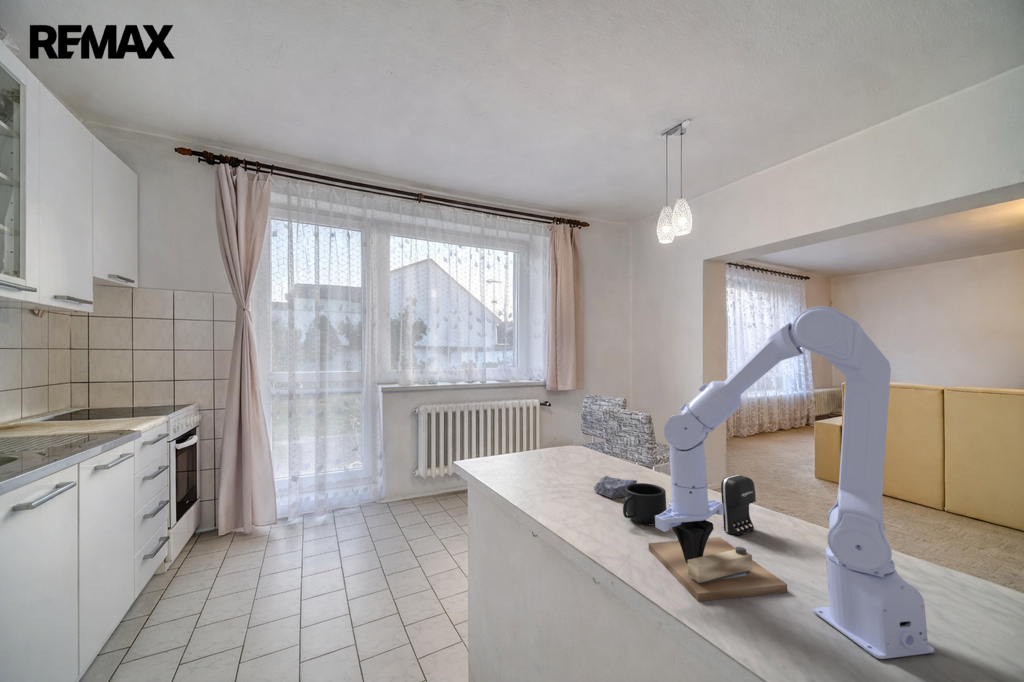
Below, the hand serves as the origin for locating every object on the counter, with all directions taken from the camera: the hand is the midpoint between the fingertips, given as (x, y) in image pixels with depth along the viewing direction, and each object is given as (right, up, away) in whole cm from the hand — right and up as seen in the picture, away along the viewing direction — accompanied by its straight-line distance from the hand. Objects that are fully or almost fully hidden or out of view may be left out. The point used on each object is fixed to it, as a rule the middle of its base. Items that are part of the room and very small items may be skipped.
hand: (693, 563), depth 68 cm
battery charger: (+18, -3, +16) cm, 24 cm away
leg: (+4, 0, -2) cm, 4 cm away
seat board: (+4, -2, +2) cm, 5 cm away
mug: (-1, -4, +23) cm, 24 cm away
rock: (-3, -5, +43) cm, 43 cm away
